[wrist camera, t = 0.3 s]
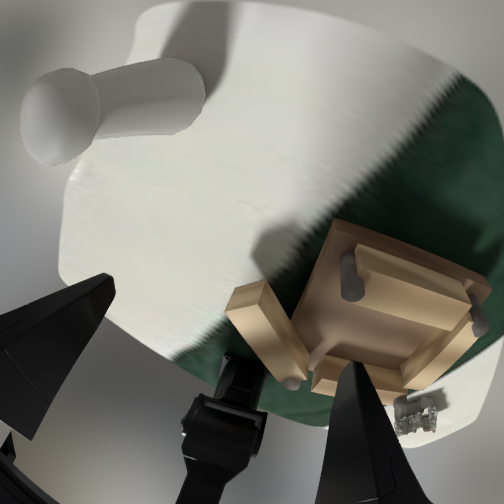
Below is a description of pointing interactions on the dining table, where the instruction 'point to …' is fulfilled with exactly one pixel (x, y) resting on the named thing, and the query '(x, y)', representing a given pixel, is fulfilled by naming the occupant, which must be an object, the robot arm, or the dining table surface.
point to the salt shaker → (108, 106)
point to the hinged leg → (269, 332)
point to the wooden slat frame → (386, 312)
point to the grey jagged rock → (416, 417)
